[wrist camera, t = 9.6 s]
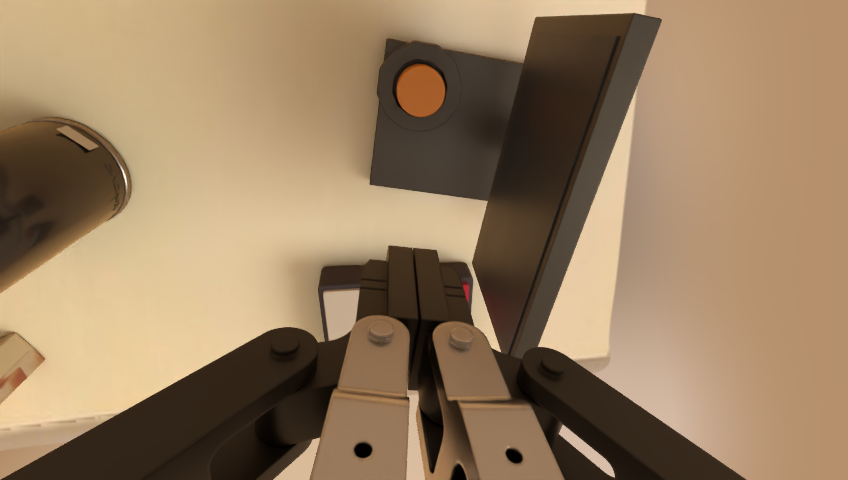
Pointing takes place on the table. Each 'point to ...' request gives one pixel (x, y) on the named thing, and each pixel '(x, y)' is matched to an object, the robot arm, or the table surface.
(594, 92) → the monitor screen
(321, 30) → the table surface
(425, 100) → the power button
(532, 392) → the robot arm
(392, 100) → the monitor base
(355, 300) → the calculator
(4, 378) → the cream printed box
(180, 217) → the table surface
